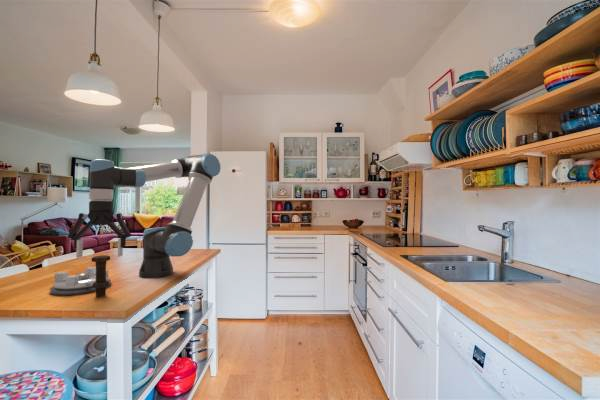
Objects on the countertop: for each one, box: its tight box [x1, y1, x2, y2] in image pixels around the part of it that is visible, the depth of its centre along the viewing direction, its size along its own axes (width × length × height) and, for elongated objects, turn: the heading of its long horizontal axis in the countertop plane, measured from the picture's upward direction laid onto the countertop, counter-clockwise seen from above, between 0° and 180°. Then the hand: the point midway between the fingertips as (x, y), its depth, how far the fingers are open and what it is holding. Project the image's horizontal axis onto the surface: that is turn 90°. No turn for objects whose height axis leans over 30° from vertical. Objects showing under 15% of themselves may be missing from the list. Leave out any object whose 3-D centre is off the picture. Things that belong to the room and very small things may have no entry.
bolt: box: [91, 254, 111, 298], centre depth 108 cm, size 6×5×15 cm
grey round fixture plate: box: [52, 266, 109, 291], centre depth 118 cm, size 18×18×5 cm
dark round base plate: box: [49, 278, 112, 297], centre depth 118 cm, size 20×20×2 cm
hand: (100, 256), depth 108 cm, fingers open, 13 cm apart
